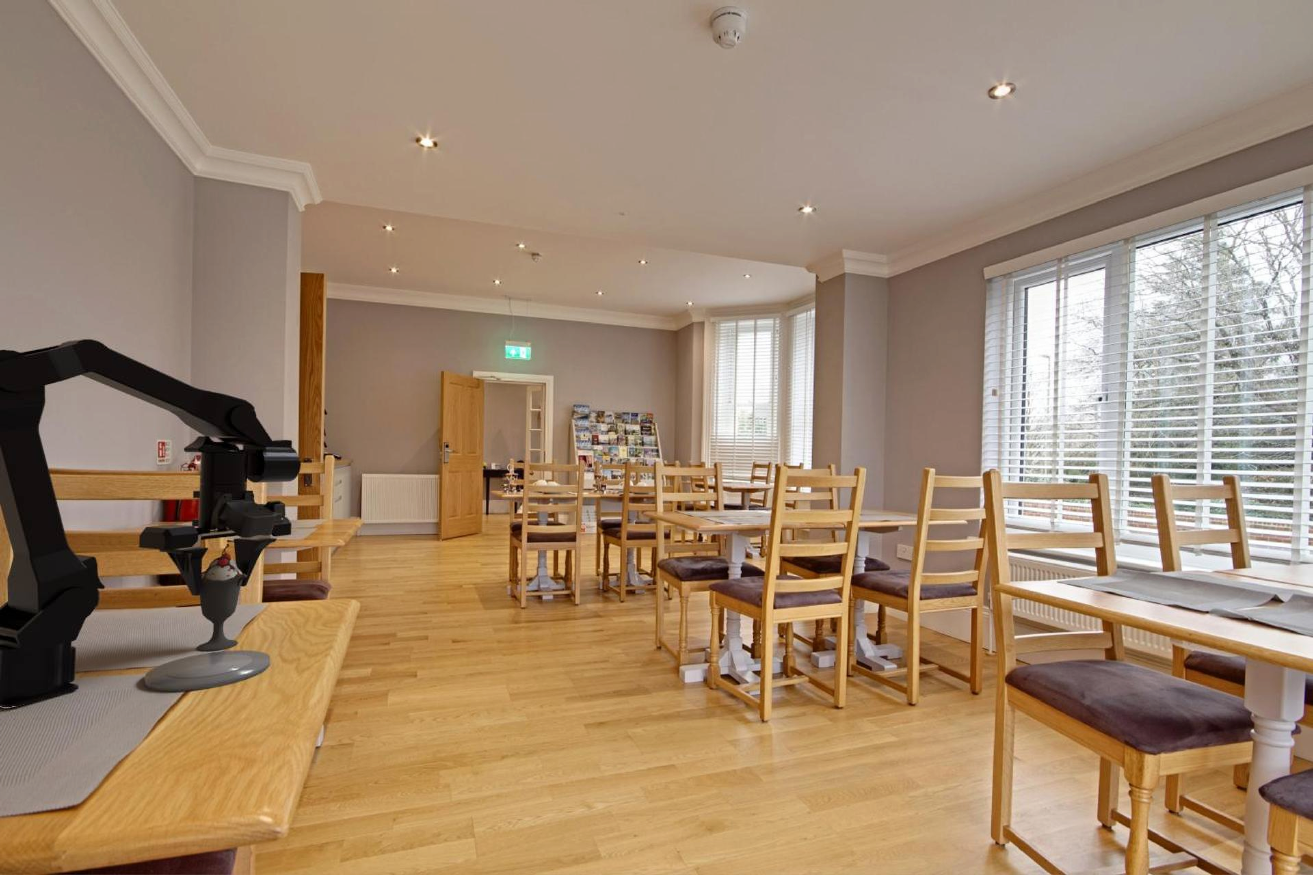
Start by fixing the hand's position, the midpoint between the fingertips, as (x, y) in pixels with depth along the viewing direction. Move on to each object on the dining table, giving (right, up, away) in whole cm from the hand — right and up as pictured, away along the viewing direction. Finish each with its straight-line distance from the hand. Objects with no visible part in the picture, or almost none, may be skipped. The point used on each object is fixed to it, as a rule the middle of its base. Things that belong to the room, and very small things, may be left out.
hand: (219, 590), depth 91 cm
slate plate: (+7, -8, -11) cm, 15 cm away
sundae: (0, -8, 0) cm, 8 cm away
